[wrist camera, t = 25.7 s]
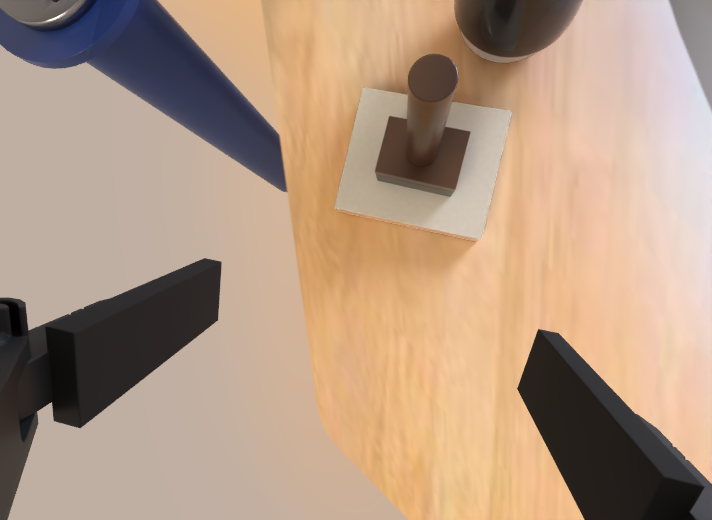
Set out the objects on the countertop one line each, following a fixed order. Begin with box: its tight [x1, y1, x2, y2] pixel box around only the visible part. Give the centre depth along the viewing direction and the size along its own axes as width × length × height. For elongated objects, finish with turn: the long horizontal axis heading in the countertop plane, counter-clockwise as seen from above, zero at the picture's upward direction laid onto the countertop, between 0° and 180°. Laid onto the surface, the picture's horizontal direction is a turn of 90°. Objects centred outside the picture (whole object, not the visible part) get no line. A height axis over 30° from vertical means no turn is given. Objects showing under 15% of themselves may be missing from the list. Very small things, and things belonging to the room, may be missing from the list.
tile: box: [334, 87, 512, 242], centre depth 32 cm, size 14×12×2 cm
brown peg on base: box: [375, 54, 471, 197], centre depth 24 cm, size 7×5×14 cm
